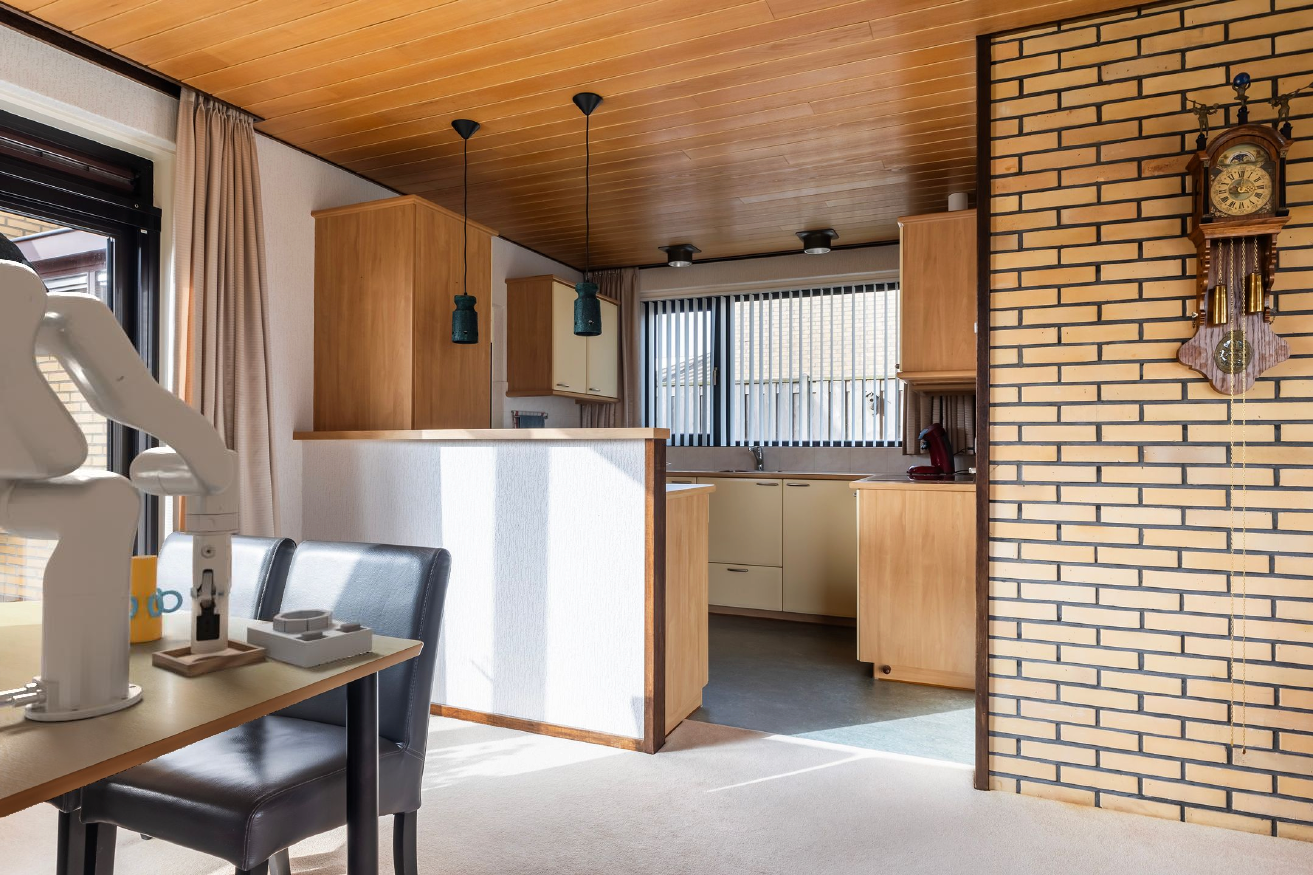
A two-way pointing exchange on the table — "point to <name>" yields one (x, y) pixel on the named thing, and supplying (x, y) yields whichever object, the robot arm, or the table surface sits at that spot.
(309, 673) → the table surface
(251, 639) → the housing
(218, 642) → the cylinder
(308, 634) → the plunger left
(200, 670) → the tray
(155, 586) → the cylinder
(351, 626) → the plunger right
